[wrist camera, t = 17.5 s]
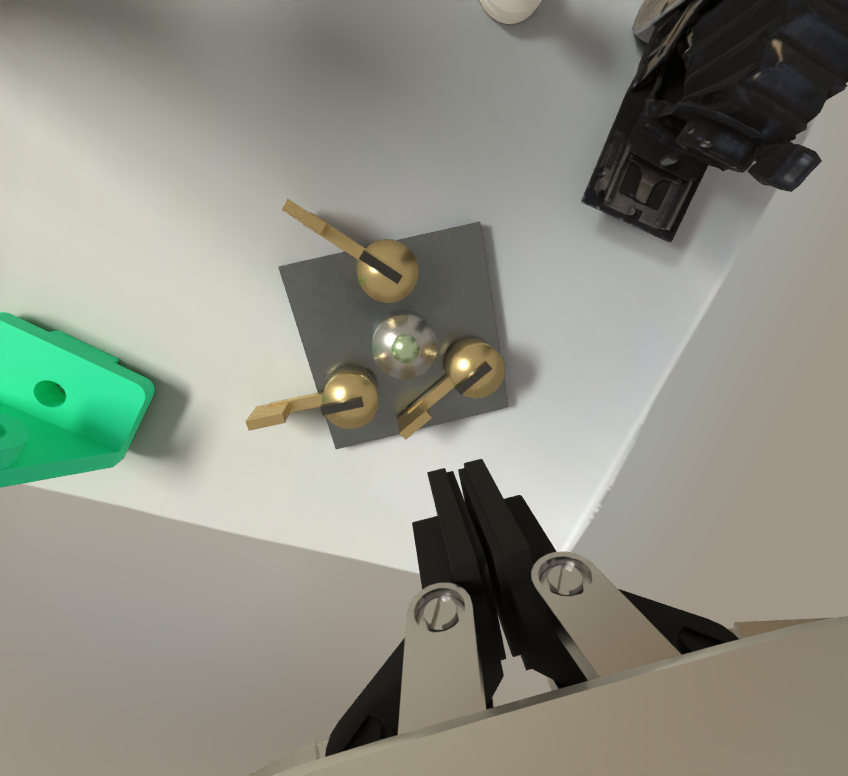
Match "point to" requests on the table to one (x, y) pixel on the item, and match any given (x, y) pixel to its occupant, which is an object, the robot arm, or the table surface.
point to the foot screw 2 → (328, 402)
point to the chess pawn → (510, 9)
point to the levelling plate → (358, 314)
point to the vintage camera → (718, 102)
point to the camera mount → (62, 404)
